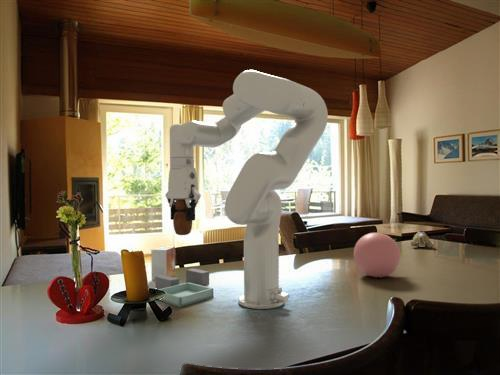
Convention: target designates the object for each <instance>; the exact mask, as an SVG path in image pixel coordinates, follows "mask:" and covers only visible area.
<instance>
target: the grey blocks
mask: <svg viewBox="0 0 500 375" xmlns="http://www.w3.org/2000/svg"><path fill="white" fill-rule="evenodd" d="M185 276H186V277H185V278H186V279H185V280H186V281H185V283H187V282H189V283H193V284H197V285H201V286H206V285H210V271H208V270H202V269H198V268H193V267H192V268H189V269H185ZM179 284H180V278H178V277H175V276H174V277H170V276H166V275H159V276H155V280H154V289H155V288H157V289H163V288H167V287H171V286H175V285H179Z"/></svg>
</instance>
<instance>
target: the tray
mask: <svg viewBox="0 0 500 375" xmlns="http://www.w3.org/2000/svg"><path fill="white" fill-rule="evenodd" d="M159 290H162V291H165V292H166V295H165V297H164V298H162V299H161V301H160V302H162V301H163V303H165V302H166V304H168V305H170V306H176V307H178V308H181V307H185V306H188V305H192V304H195V303H198V302H202V301H205V300H209V299H212V298H214V288H213V287H208V286H206V285H203V286H202V285H198V284H193V283H189V282H184V283H179V285H175V286H171V287H167V288H163V289H159Z"/></svg>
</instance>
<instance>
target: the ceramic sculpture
mask: <svg viewBox="0 0 500 375" xmlns="http://www.w3.org/2000/svg"><path fill="white" fill-rule="evenodd" d="M410 246H412V247H413V246H416V247H417V246H427V247H428V248H433V247H434V242H433V241H432V240H430V238H429V236H428V235H427V234H426V232H424V231H423V230H419V231H417V233H416V234H414V236H413V238H412V240H411V241H410Z"/></svg>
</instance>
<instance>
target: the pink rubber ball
mask: <svg viewBox="0 0 500 375" xmlns="http://www.w3.org/2000/svg"><path fill="white" fill-rule="evenodd" d="M353 260H354V262H355V265H356V266H357V268H358V269H359V270H360V271H361V272H362V273H363V274H365V275H366V276H369V277H371V276H372V277H371V278H377V277H379V278H385V277H387V276H390V275H391V274H392V273H394V272H395V271H396V270H397V268H398V266H399V265H400V263H401V262H400V261H401V251H400V248H399V246H398V244H397V243H396V241H395V240H394V239H393V238H392V237H391V236H389V235H388V234H385V233H381V232H369V233H367V234H364V235H363V236H361V237H360V238H359V239H358V240H357V241H356V243H355V245H354V249H353Z"/></svg>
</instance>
